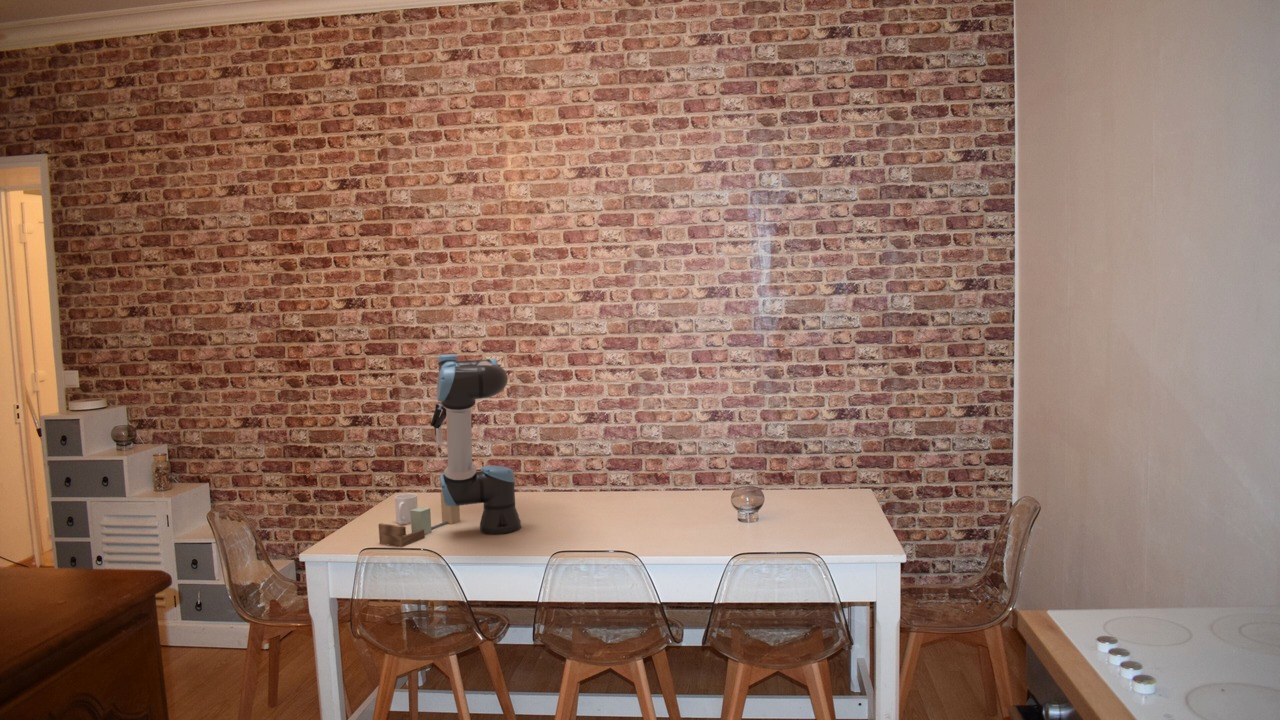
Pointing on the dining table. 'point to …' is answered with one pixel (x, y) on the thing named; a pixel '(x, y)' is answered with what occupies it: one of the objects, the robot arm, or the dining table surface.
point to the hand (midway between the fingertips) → (452, 444)
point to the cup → (405, 507)
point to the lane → (398, 535)
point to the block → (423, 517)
